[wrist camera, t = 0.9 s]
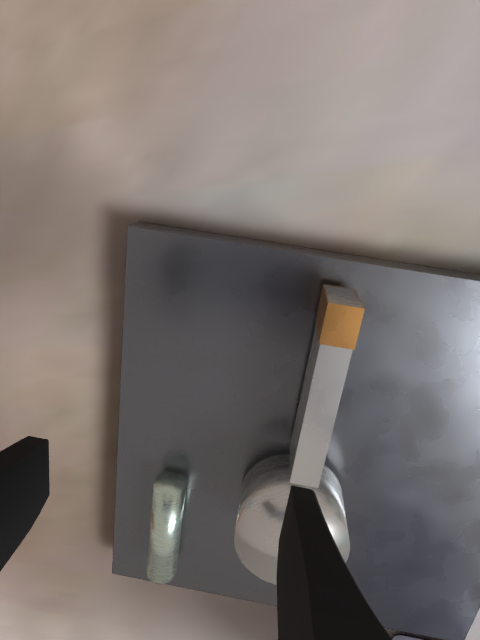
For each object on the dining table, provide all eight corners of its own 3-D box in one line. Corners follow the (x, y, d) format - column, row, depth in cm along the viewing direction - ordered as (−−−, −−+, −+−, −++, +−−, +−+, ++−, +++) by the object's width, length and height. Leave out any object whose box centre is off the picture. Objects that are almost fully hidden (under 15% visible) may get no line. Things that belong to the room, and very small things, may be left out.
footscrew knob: (330, 542, 23) (336, 596, 20) (235, 524, 23) (227, 575, 20) (399, 294, 18) (420, 319, 15) (277, 275, 18) (275, 296, 15)
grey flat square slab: (453, 617, 26) (474, 675, 23) (121, 551, 27) (101, 599, 24) (597, 293, 19) (654, 317, 16) (138, 221, 20) (113, 232, 17)
